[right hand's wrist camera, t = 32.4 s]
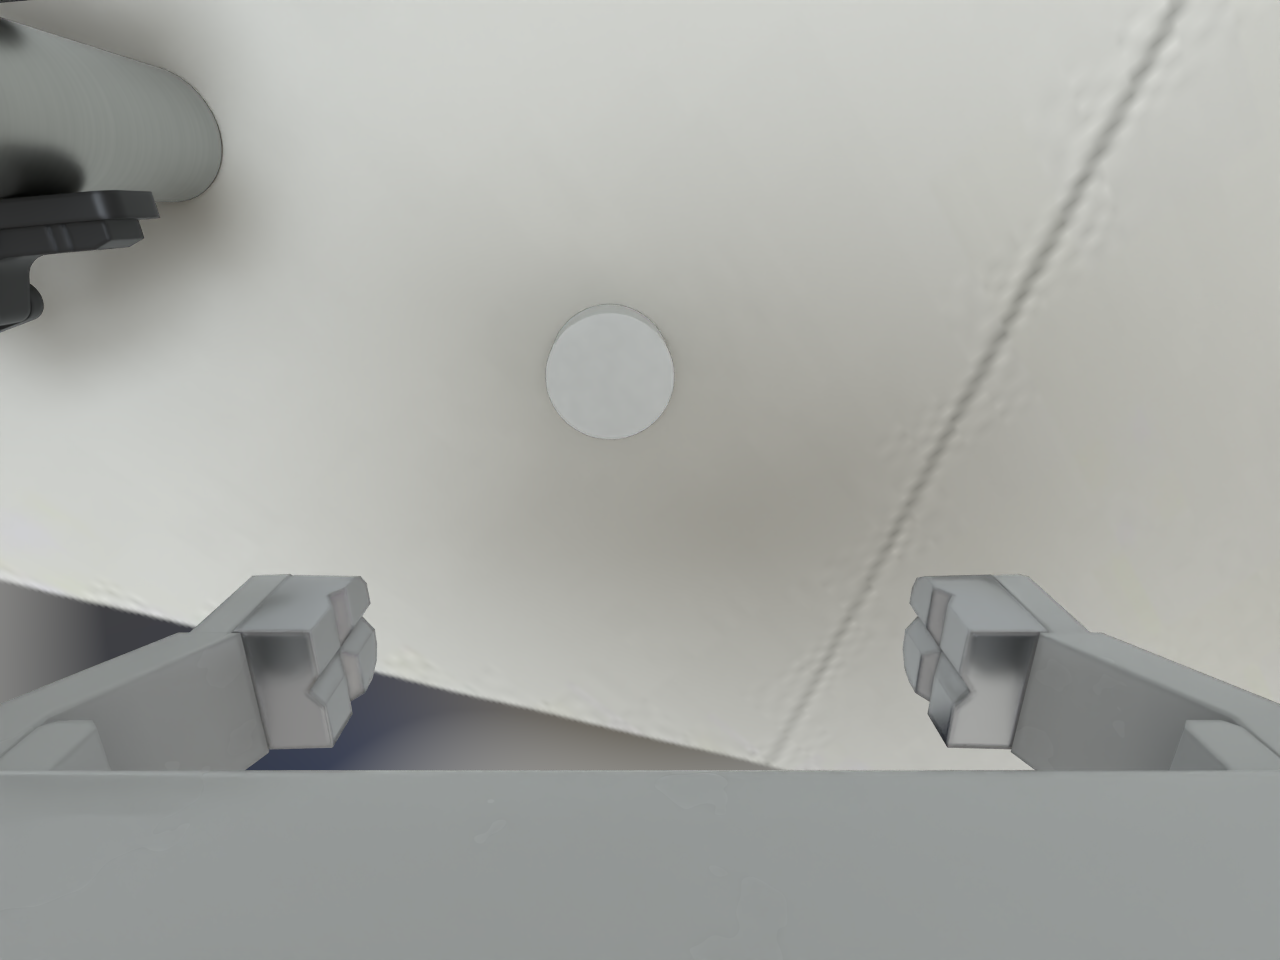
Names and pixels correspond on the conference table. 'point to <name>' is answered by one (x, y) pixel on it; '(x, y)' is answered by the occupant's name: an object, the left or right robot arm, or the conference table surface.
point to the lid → (609, 372)
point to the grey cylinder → (97, 122)
